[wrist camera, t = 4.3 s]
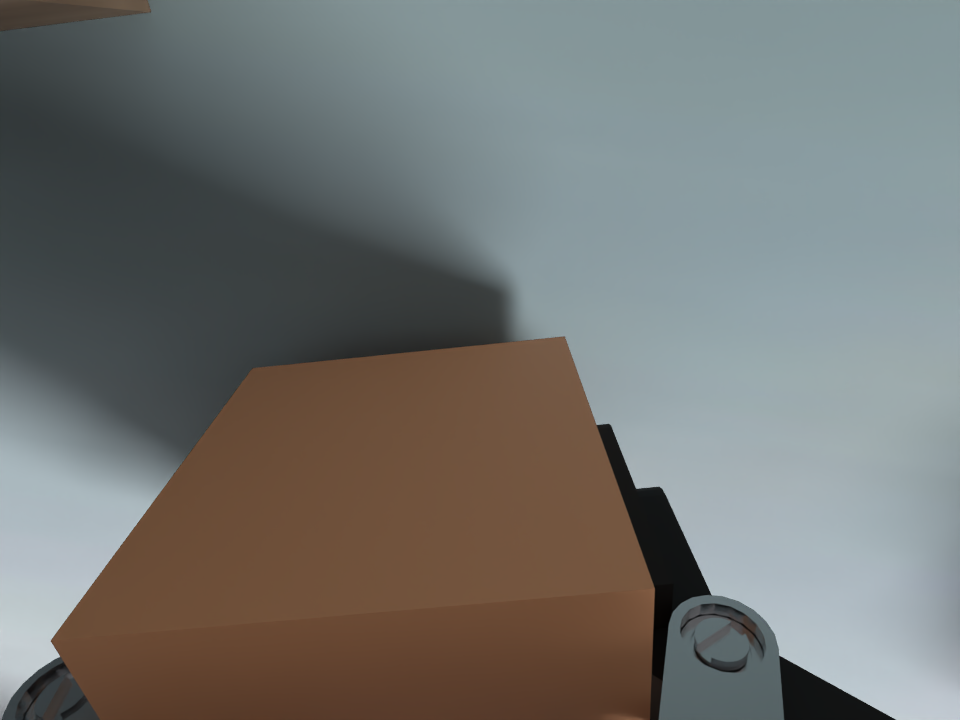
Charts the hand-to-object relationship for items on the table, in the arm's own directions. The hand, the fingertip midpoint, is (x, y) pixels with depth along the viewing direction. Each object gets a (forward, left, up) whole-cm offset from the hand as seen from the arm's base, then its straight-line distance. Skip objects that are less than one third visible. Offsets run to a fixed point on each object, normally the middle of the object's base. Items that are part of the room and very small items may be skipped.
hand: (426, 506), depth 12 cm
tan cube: (0, 0, -1) cm, 1 cm away
